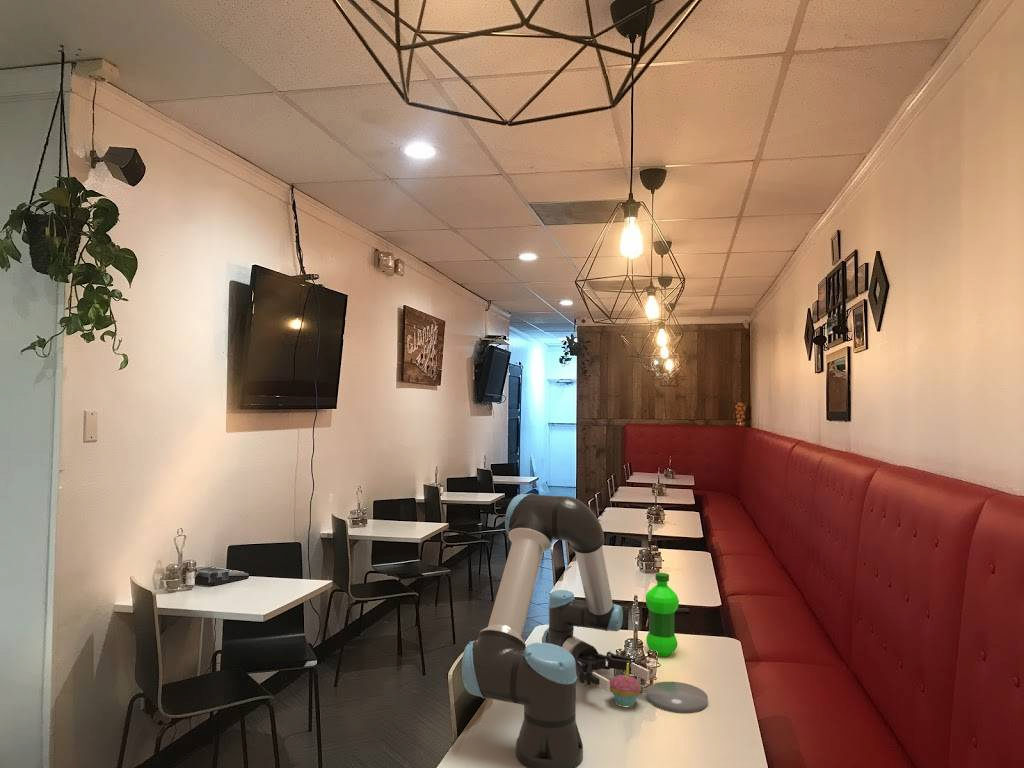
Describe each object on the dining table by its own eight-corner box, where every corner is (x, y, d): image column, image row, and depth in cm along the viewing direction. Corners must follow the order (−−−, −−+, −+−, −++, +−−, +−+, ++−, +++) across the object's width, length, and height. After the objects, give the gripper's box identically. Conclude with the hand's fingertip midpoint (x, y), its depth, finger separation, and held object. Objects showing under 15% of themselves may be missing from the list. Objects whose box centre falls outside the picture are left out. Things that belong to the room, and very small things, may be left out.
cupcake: (646, 708, 178) (647, 661, 178) (618, 712, 175) (618, 665, 175) (630, 694, 186) (630, 650, 186) (602, 699, 183) (602, 653, 183)
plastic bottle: (648, 645, 223) (649, 569, 224) (681, 651, 219) (682, 572, 220) (641, 656, 214) (642, 576, 215) (675, 661, 210) (675, 580, 211)
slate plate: (676, 718, 172) (676, 712, 172) (634, 694, 186) (634, 688, 186) (720, 704, 180) (720, 698, 181) (677, 682, 194) (677, 677, 194)
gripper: (613, 659, 204) (663, 685, 186) (544, 676, 191) (591, 705, 173) (613, 634, 204) (664, 657, 186) (544, 649, 191) (591, 675, 173)
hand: (629, 680), depth 179 cm, fingers open, 13 cm apart
